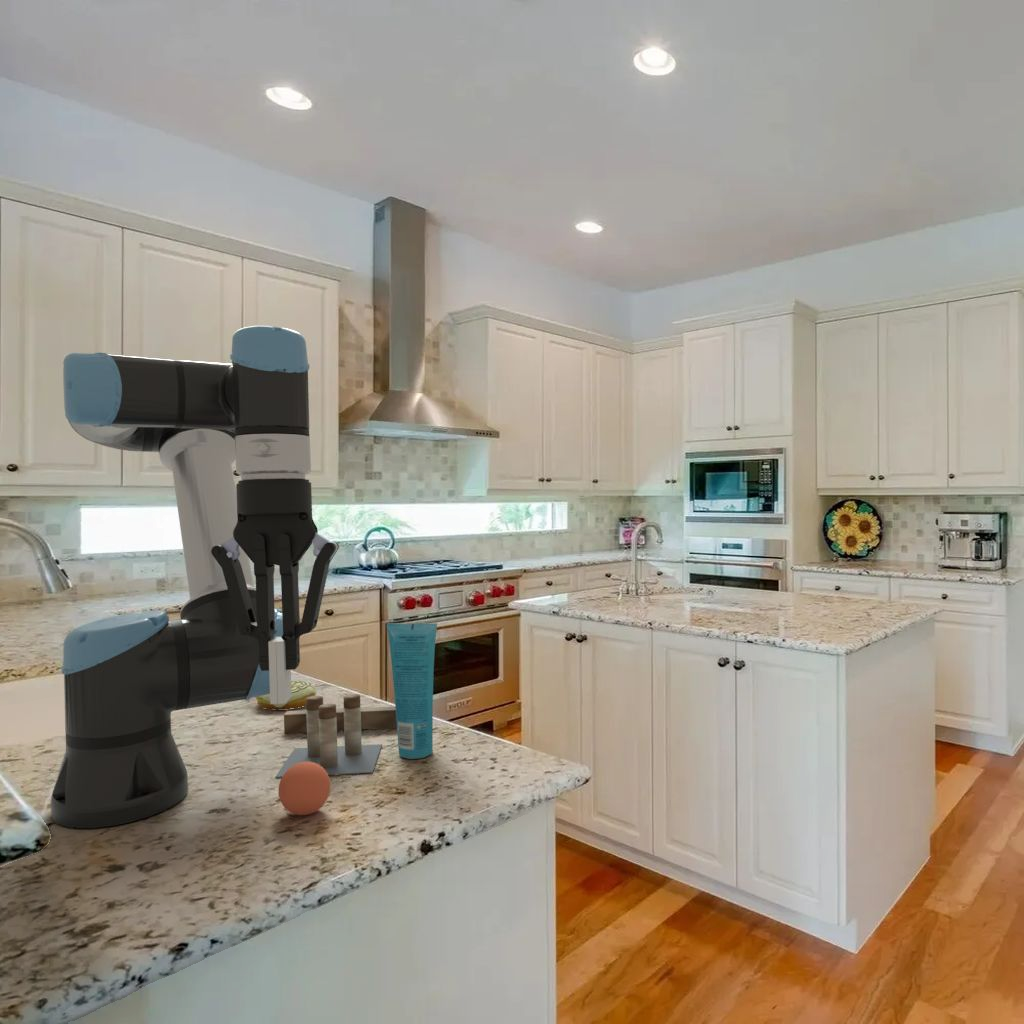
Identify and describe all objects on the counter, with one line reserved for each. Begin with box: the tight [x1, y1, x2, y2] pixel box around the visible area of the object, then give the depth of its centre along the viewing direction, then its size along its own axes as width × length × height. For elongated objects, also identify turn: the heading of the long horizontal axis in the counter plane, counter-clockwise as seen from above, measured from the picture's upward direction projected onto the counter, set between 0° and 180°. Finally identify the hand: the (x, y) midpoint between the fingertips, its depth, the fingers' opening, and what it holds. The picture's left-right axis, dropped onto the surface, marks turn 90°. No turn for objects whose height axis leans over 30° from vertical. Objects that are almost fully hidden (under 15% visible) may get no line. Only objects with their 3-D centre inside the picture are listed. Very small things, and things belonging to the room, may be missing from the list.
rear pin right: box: [305, 695, 324, 757], centre depth 105 cm, size 2×2×8 cm
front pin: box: [319, 703, 338, 768], centre depth 101 cm, size 2×2×8 cm
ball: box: [277, 762, 332, 816], centre depth 86 cm, size 6×6×6 cm
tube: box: [386, 622, 438, 760], centre depth 105 cm, size 7×5×19 cm, turn 89°
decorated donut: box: [254, 679, 317, 710], centre depth 133 cm, size 10×11×4 cm
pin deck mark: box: [275, 743, 383, 777], centre depth 103 cm, size 13×11×1 cm
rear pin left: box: [342, 693, 363, 755], centre depth 105 cm, size 2×2×8 cm
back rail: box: [283, 706, 397, 734], centre depth 117 cm, size 20×2×3 cm, turn 94°
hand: (281, 699), depth 76 cm, fingers closed
